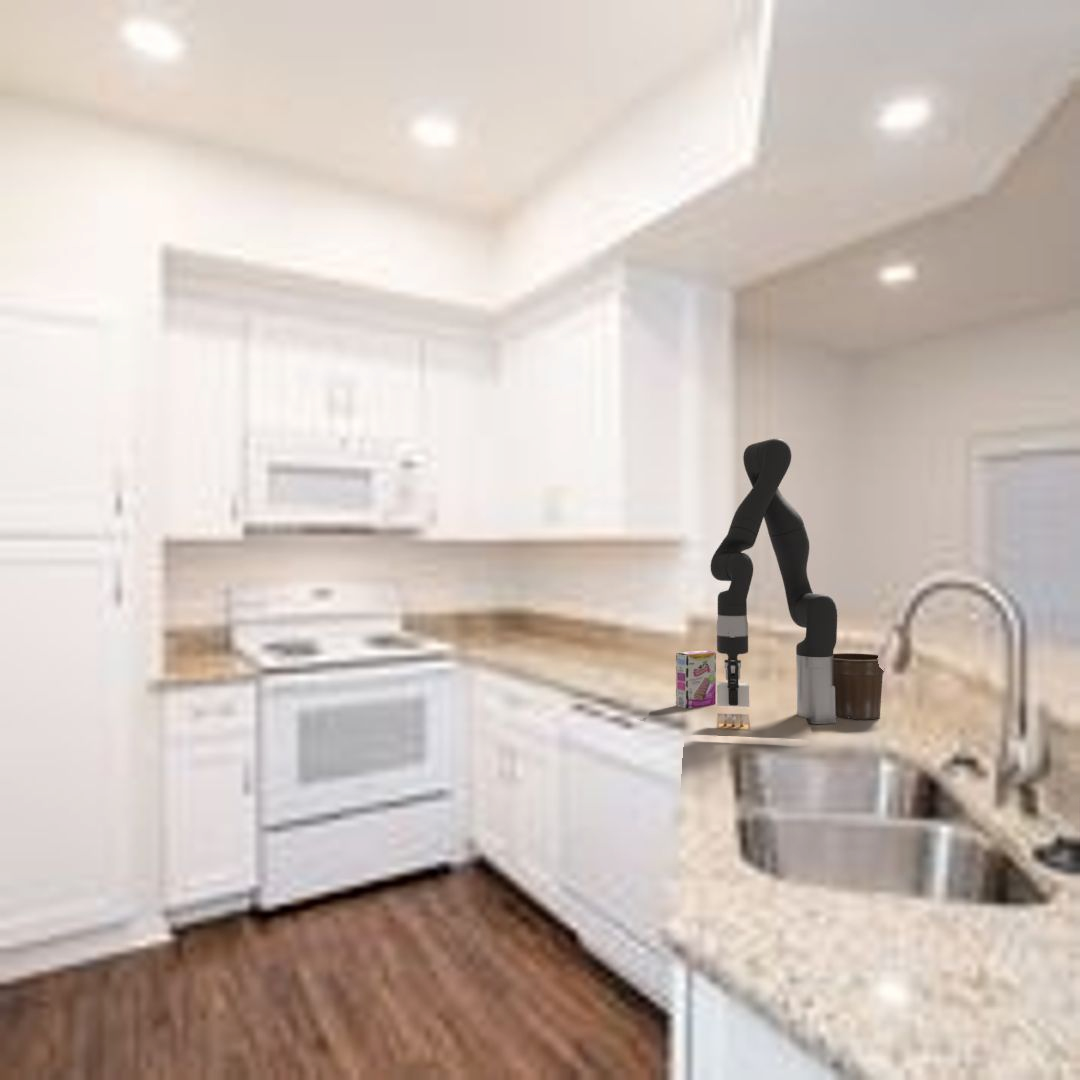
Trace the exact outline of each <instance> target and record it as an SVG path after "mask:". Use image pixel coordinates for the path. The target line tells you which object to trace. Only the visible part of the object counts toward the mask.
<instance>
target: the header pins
mask: <svg viewBox="0 0 1080 1080" xmlns="http://www.w3.org/2000/svg"><path fill="white" fill-rule="evenodd" d="M727 714H728V713H724V714H723V726H727ZM731 714H732V727H735V714H736V713H731ZM739 714H740V727H744V714H745V713H739Z"/></svg>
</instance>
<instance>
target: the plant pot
mask: <svg viewBox="0 0 1080 1080" xmlns="http://www.w3.org/2000/svg"><path fill="white" fill-rule="evenodd" d="M878 655H879V654H871V653H857V652H856V653H855V652H854V653H853V652H852V653H851V652H849V653H848V652H846V653H845V652H844V653H843V652H842V653H840V652H839V653H833V667H834V686H835V715H836V718H838V717H839V718H841V719H850V718H851V719H854V720H858V721H859V720H861V721H862V720H863V721H868V720H869V721H870V720H876V719H879V717H880V718H881V709H882V708H881V706H882V691H883V678H884V677H883V676H884V673H885V670H884V671H883V670H882V669H881V668H880V667H879V664H878V659H877V658H878Z"/></svg>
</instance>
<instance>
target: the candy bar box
mask: <svg viewBox="0 0 1080 1080" xmlns="http://www.w3.org/2000/svg"><path fill="white" fill-rule="evenodd" d="M675 655H676V657H675V663H676V664H675V669H676V670H675V671H676V672H675V676H676V677H675V706H676V707H678V708H683V709H693V708H700V707H707V706H713V705H717V682H716V681H717V680H716V679H717V677H716V676H717V673H716V671H717V666H716V665H717V662H716V661H717V660H716V659H717V652H716V651H710V650H695V651H682V652H681V651H680V652H676V653H675Z"/></svg>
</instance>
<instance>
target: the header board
mask: <svg viewBox="0 0 1080 1080" xmlns="http://www.w3.org/2000/svg"><path fill="white" fill-rule="evenodd" d="M723 714H725V713H724V712H721V713H719V712H718V713H717V719H716V730H720V731H721V730H722V731H723V730H725V731H742V732H743V731H745V732H746V731H749V732H750V731H752V729H751V721H750V714H748V713H747V714H746V713H743V714H744V727H740V714H741V713H734V714H735V727H732V714H733V713H726V714H727V726H723Z"/></svg>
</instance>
